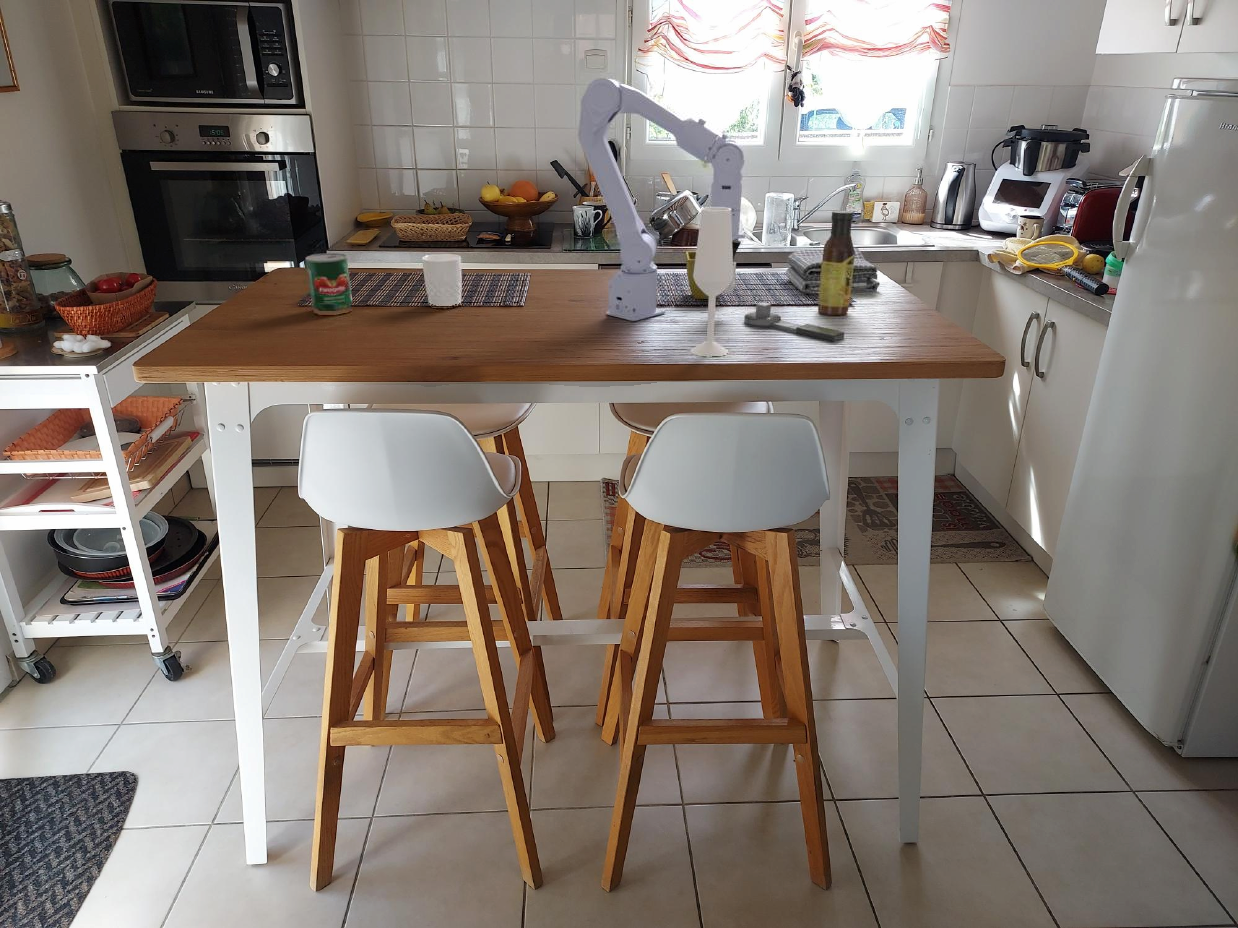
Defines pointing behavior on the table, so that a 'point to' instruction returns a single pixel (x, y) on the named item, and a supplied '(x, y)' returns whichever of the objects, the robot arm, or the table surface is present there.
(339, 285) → the canned tomato
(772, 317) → the ratchet
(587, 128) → the robot arm
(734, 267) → the white sugar cube
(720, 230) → the champagne flute
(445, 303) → the white cup
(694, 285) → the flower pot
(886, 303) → the table surface
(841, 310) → the sauce bottle
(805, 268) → the towel
